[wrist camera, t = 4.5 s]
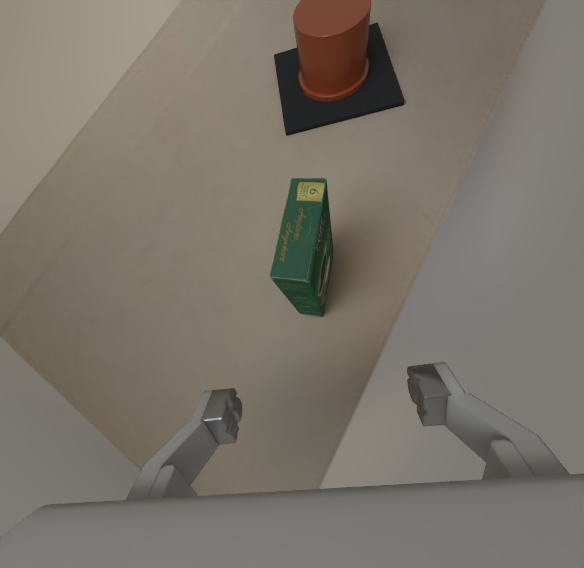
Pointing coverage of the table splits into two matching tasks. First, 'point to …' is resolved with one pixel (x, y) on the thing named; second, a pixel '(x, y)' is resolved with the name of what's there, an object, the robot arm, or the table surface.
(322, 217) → the coffee box
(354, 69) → the stand
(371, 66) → the mat
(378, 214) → the table surface
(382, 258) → the table surface
